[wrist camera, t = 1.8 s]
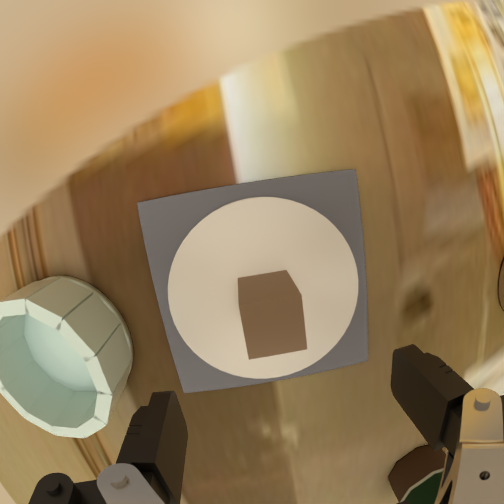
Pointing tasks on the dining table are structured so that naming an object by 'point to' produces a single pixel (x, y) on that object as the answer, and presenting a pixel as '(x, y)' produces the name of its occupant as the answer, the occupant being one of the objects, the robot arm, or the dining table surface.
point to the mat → (206, 201)
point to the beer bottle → (418, 475)
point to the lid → (263, 287)
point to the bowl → (63, 355)
